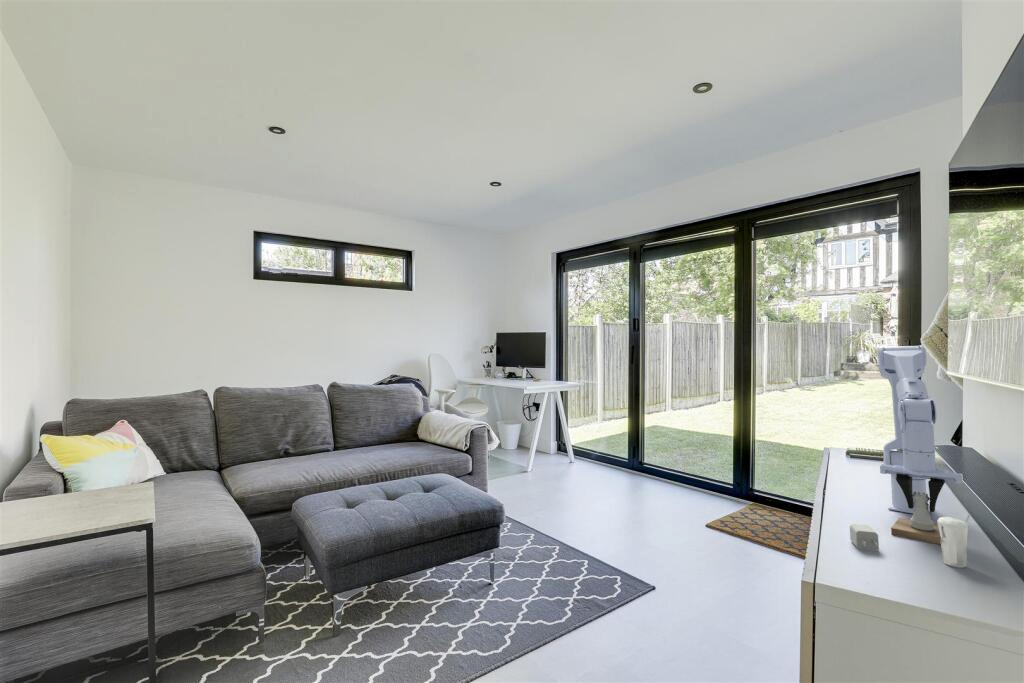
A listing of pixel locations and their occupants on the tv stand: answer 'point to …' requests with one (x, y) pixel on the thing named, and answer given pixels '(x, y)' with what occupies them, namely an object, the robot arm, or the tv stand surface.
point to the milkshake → (953, 540)
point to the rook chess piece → (921, 513)
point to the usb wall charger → (864, 537)
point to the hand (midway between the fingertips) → (921, 509)
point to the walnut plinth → (915, 531)
